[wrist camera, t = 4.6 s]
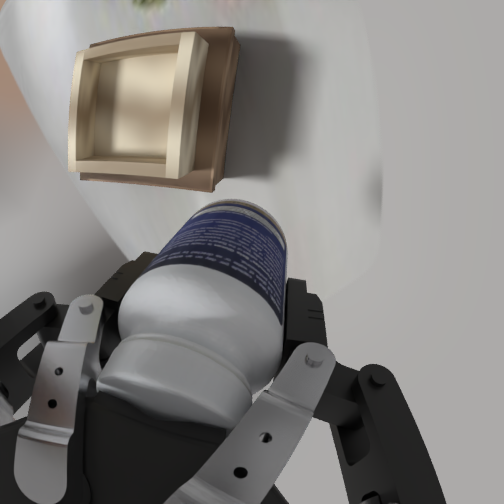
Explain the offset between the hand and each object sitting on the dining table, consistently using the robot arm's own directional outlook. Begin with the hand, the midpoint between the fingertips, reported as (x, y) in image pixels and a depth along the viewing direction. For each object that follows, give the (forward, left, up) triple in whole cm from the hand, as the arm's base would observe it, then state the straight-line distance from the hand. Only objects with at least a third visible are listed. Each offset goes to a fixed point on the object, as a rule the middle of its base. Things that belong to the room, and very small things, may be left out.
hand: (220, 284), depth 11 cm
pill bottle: (0, 0, -3) cm, 3 cm away
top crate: (-8, -11, -12) cm, 18 cm away
